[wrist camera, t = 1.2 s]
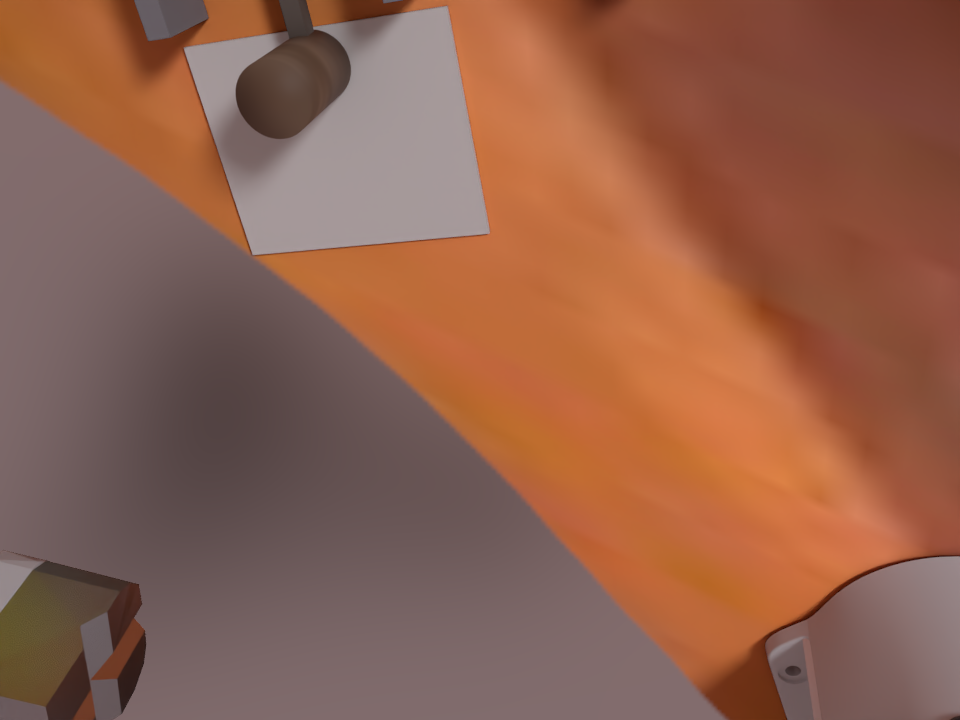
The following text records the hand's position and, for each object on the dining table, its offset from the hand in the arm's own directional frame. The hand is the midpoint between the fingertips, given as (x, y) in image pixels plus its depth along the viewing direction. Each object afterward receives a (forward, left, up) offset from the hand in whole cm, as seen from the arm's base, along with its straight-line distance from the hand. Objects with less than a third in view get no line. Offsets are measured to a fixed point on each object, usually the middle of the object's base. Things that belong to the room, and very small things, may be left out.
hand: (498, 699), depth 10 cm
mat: (-3, +13, -32) cm, 35 cm away
